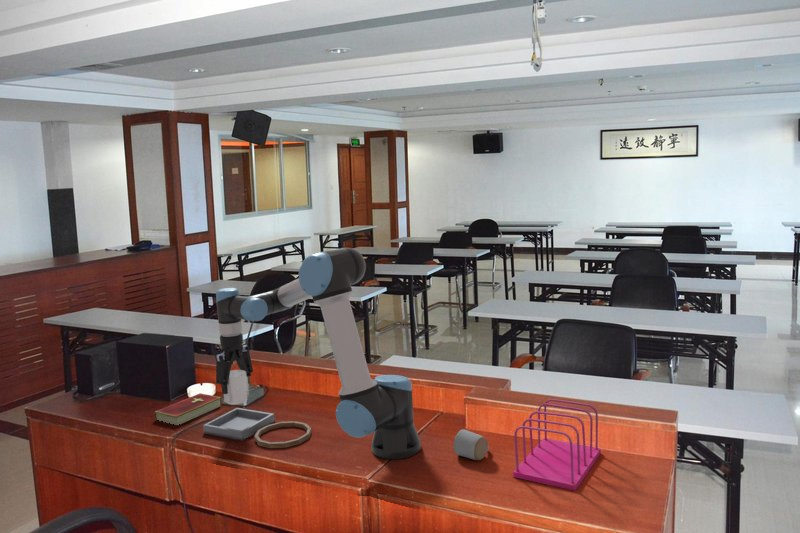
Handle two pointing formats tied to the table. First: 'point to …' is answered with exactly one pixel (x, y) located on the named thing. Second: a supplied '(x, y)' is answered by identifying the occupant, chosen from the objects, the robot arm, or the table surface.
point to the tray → (238, 424)
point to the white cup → (238, 386)
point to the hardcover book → (188, 409)
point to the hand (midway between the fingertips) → (237, 398)
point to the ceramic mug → (470, 445)
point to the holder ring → (287, 443)
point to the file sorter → (557, 452)
